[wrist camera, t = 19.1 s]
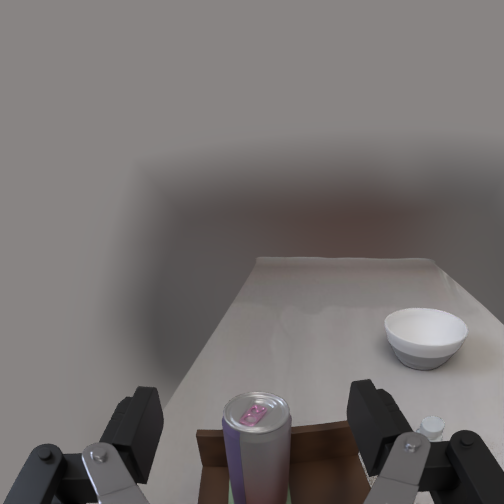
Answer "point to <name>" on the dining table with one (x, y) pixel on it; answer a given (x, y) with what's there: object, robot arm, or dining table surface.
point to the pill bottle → (432, 428)
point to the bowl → (424, 336)
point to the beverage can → (258, 447)
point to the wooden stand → (295, 466)
